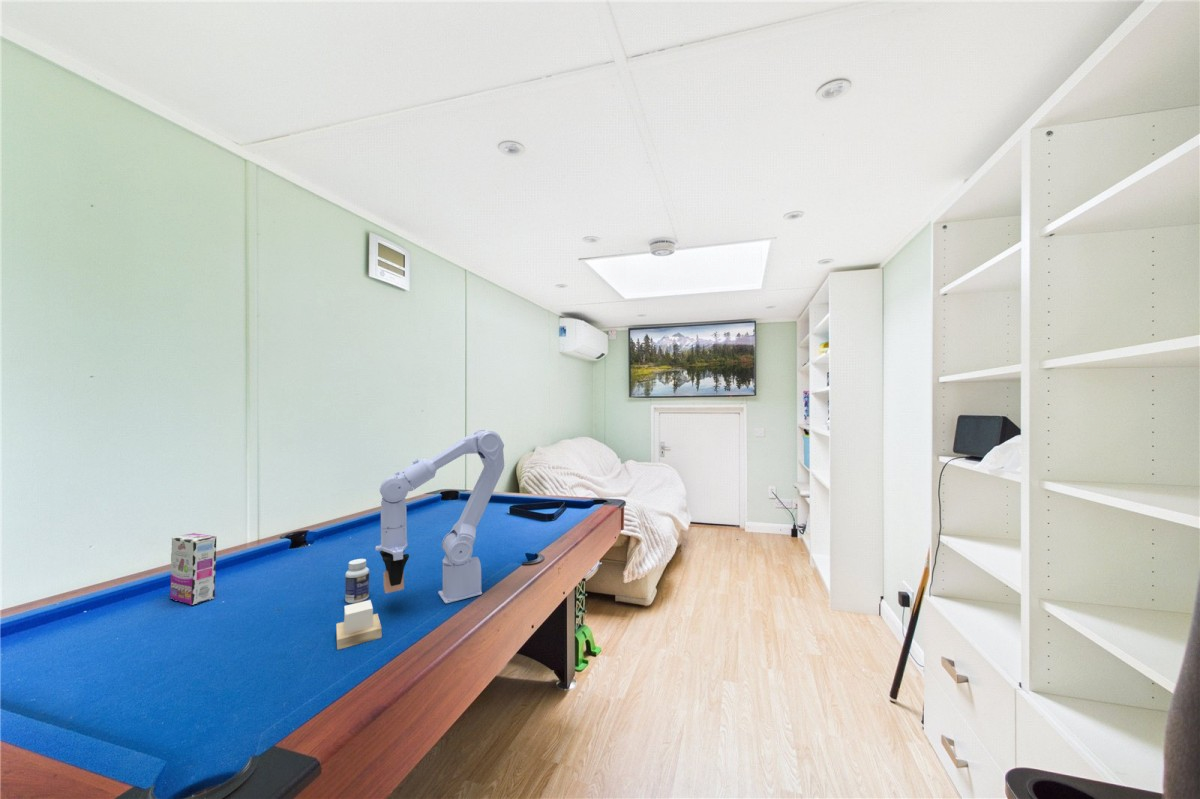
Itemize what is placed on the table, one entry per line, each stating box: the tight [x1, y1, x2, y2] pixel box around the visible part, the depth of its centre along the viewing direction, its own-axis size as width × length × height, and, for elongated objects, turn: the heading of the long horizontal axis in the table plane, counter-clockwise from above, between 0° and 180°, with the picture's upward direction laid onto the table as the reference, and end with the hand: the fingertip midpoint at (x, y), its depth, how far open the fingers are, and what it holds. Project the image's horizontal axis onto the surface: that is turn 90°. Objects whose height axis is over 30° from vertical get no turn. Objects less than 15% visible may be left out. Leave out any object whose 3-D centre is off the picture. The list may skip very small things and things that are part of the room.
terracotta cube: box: [383, 570, 405, 594], centre depth 101 cm, size 4×4×4 cm
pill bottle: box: [344, 558, 370, 604], centre depth 107 cm, size 5×5×10 cm
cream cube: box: [343, 599, 374, 634], centre depth 89 cm, size 5×5×4 cm
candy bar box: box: [169, 532, 217, 606], centre depth 109 cm, size 11×5×16 cm, turn 68°
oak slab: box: [335, 613, 383, 651], centre depth 89 cm, size 8×8×2 cm
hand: (394, 581), depth 101 cm, fingers closed on terracotta cube, 4 cm apart
